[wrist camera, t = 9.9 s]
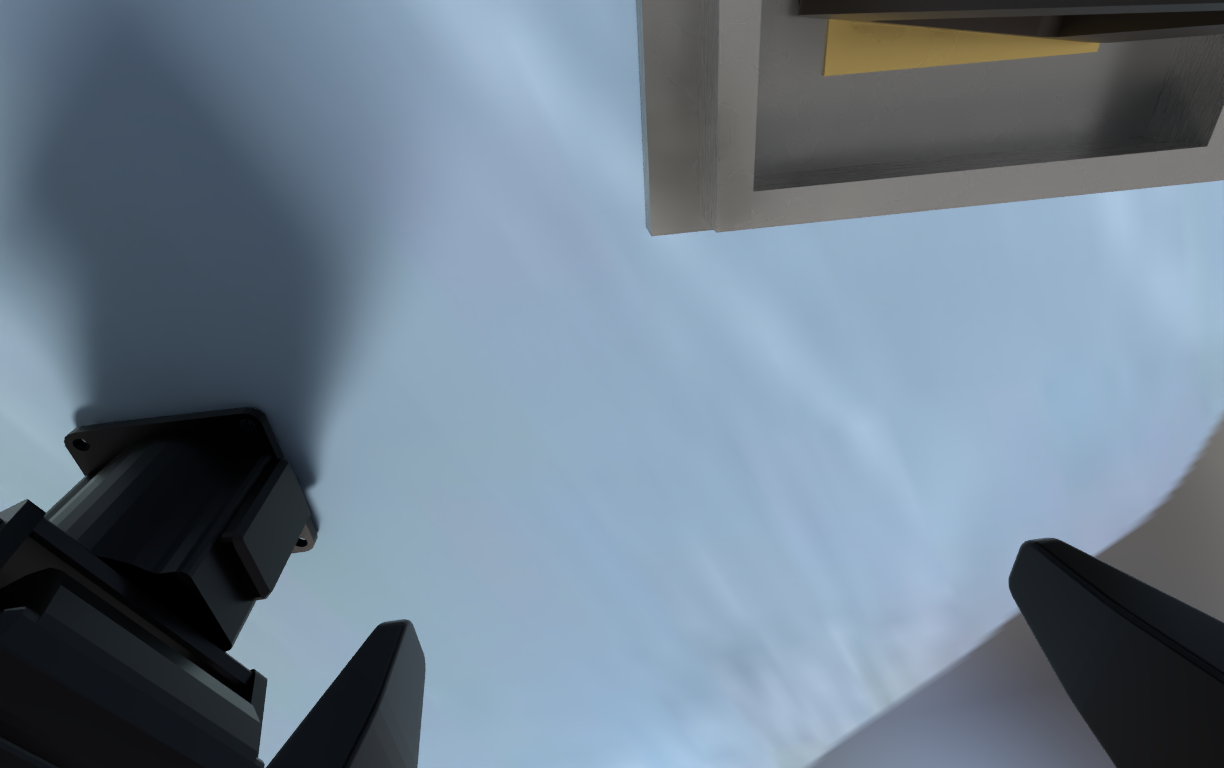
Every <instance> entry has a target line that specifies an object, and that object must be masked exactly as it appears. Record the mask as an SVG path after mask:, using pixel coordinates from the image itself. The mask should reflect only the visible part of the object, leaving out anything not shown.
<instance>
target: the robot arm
mask: <svg viewBox="0 0 1224 768" xmlns="http://www.w3.org/2000/svg"><path fill="white" fill-rule="evenodd" d="M244 419H246V420H250V421H252V422H253V423H254V424H255V425H249V424H248V423H246V421H245V420H244ZM82 439H83V440H85V441H87V442H88V443H89V444H87V443H85V442H84V441H83V440H82ZM64 443H65V446H66V448H67V449H68V451H69V452H70V454H71V455H72V457H73V458H74V460H75V461H76V463H77V464H78V466H79V467H80V469H81V470H82V472H83V474H84V475H85V477H84V478H83V479H82V480H81V481H80V482H79V483H78V484H77V485H75V486H74V487H73V488H72V489H71V490H70V491H69V492H68V493H67V494H66V495H65V496H64V497H63V498H62V499H60V500H59V501H58V502H57V503H56V504H55V505H54V506H53V507H52V508H51V509H50V510H49V511H48V512H47V513H46V512H44V511H43V510H42V509H40V508H39V507H38V506H36V505H35V504H34V503H32V502H31V501H30V500H28V499H26V500H24V501H22V502H20V503H18V504H16V505H14V506H12V507H10V508H8V509H6V510H4V511H2V512H0V768H264V762H263V761H262V760H260V759H259V758H258V754H259V745H260V737H261V728H262V720H263V712H264V703H265V695H266V687H267V678H265V677H264V676H263V675H261V674H260V673H259V672H257V671H256V670H255V669H252V670H249V669H247V668H246V667H245V666H243V665H242V664H241V663H239V662H238V661H237V660H235V659H234V658H233V657H231V656H230V655H229V654H227V653H226V651H229V650H230V649H231V648H232V647H233V645H234V643H235V641H236V639H237V637H238V635H239V633H240V631H241V629H242V627H243V625H244V623H245V622H246V620H247V618H248V616H249V614H250V612H251V610H252V608H253V606H254V604H255V602H256V600H261V599H266V598H267V597H268V596H269V595H270V593H271V592H272V591H273V589H274V587H275V585H276V583H277V581H278V579H279V577H280V575H281V573H282V571H283V569H284V567H285V565H286V563H287V561H288V559H289V557H290V555H291V553H298V552H305V551H309V550H310V549H312V548H313V546H314V544H315V542H316V540H317V532H316V530H315V528H314V525H313V523H312V521H311V518H310V514H311V511H310V508H309V506H308V504H307V501H306V499H305V497H304V494H303V492H302V490H301V488H300V485H299V483H298V481H297V478H296V476H295V474H294V471H293V469H292V467H291V464H290V463H289V462H288V461H287V460H286V459H285V458H284V456H283V454H282V452H281V449H280V447H279V445H278V443H277V440H276V438H275V436H274V433H273V431H272V429H271V426H270V424H269V422H268V419H267V417H266V416H265V415H264V413H263V412H261V411H260V410H258V409H255V408H251V407H245V408H236V409H228V410H219V411H210V412H201V413H193V414H184V415H175V416H166V417H158V418H149V419H140V420H131V421H123V422H114V423H105V424H96V425H88V426H81V427H77V428H75V429H74V430H73V431H72V432H70V433H69V434H68V435H67V436H66V437H65V440H64ZM300 538H304V539H306V540H302V539H300ZM1009 589H1010V592H1011V594H1012V597H1013V598H1014V600H1015V602H1016V604H1017V606H1018V607H1019V609H1020V611H1021V613H1022V615H1023V616H1024V618H1025V620H1026V622H1027V624H1028V625H1029V627H1030V629H1031V631H1032V632H1033V635H1034V636H1035V638H1036V640H1037V641H1038V643H1039V645H1040V647H1041V649H1042V651H1043V652H1044V654H1045V656H1046V658H1047V660H1048V662H1049V663H1050V665H1051V667H1052V669H1053V671H1054V672H1055V674H1056V676H1057V678H1058V679H1059V681H1060V683H1061V685H1062V686H1063V688H1064V690H1065V691H1066V693H1067V695H1068V696H1069V698H1070V699H1071V701H1072V703H1073V704H1074V706H1075V707H1076V709H1077V710H1078V712H1079V713H1080V715H1081V716H1082V718H1083V719H1084V721H1085V722H1086V724H1087V725H1088V727H1089V728H1090V730H1091V731H1092V733H1093V734H1094V735H1095V737H1096V738H1097V740H1098V741H1099V743H1100V744H1101V746H1102V747H1103V749H1104V750H1105V751H1106V753H1107V754H1108V756H1109V757H1110V759H1111V761H1112V762H1113V764H1114V765H1115V767H1116V768H1224V623H1223V622H1221V621H1219V620H1217V619H1215V618H1214V617H1211V616H1210V615H1208V614H1206V613H1204V612H1202V611H1200V610H1198V609H1196V608H1194V607H1192V606H1190V605H1188V604H1186V603H1184V602H1182V601H1180V600H1178V599H1176V598H1174V597H1172V596H1170V595H1168V594H1166V593H1164V592H1162V591H1160V590H1158V589H1156V588H1154V587H1152V586H1150V585H1148V584H1146V583H1144V582H1142V581H1140V580H1138V579H1136V578H1134V577H1132V576H1130V575H1128V574H1126V573H1124V572H1122V571H1120V570H1118V569H1116V568H1114V567H1113V566H1111V565H1108V564H1107V563H1104V562H1102V561H1101V560H1099V559H1097V558H1095V557H1093V556H1091V555H1089V554H1087V553H1085V552H1083V551H1081V550H1079V549H1077V548H1075V547H1073V546H1071V545H1069V544H1067V543H1065V542H1063V541H1061V540H1058V539H1055V538H1042V539H1034V540H1028V541H1025V542H1024V543H1023V544H1022V545H1021V547H1020V549H1019V552H1018V554H1017V557H1016V560H1015V562H1014V565H1013V568H1012V570H1011V573H1010V576H1009ZM424 682H425V657H424V653H423V651H422V648H421V645H420V642H419V640H418V637H417V634H416V632H415V629H414V626H413V624H412V622H411V621H409V620H406V619H404V620H396V621H388V622H383V623H381V624H379V625H378V626H377V627H376V628H375V629H374V631H373V632H372V633H371V634H370V636H369V637H368V638H367V640H366V641H365V642H364V643H363V645H362V646H361V647H360V648H359V650H358V651H357V652H356V654H355V655H354V656H353V657H352V659H351V660H350V661H349V662H348V664H347V665H346V666H345V668H344V669H343V670H342V671H341V673H340V674H339V675H338V677H337V678H336V679H335V680H334V682H333V683H332V684H331V685H330V687H329V688H328V689H327V691H326V692H325V693H324V694H323V696H322V697H321V698H320V699H319V701H318V702H317V703H316V705H315V706H314V707H313V708H312V710H311V711H310V712H309V714H308V715H307V716H306V717H305V719H304V720H303V721H302V722H301V724H300V725H299V726H298V728H297V729H296V730H295V731H294V733H293V734H292V735H291V736H290V738H289V739H288V740H287V742H286V743H285V744H284V745H283V747H282V748H281V749H280V751H279V752H278V753H277V754H276V756H275V757H274V758H273V759H272V761H271V762H270V763H269V765H268V766H267V767H266V768H417V765H418V753H419V741H420V729H421V718H422V706H423V694H424Z"/></svg>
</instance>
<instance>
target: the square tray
mask: <svg viewBox="0 0 1224 768" xmlns="http://www.w3.org/2000/svg"><path fill="white" fill-rule="evenodd" d="M800 1H801V0H636V8H637V30H638V52H639V75H640V97H641V120H642V142H643V164H644V187H645V209H646V228H647V230H648V231H649V233H650V235H651V236H658V235H668V234H677V233H687V232H697V231H706V230H714V231H715V232H725V231H735V230H745V229H754V228H764V227H774V226H783V225H793V224H803V223H812V222H822V221H832V220H841V219H851V218H861V217H871V216H880V215H890V214H900V213H909V212H919V211H929V210H938V209H948V208H958V207H967V206H977V205H987V204H997V203H1006V202H1016V201H1026V200H1035V199H1045V198H1055V197H1064V196H1074V195H1084V194H1093V193H1103V192H1113V191H1123V190H1132V189H1142V188H1152V187H1161V186H1171V185H1181V184H1190V183H1200V182H1210V181H1219V180H1224V34H1218V35H1205V36H1192V37H1179V38H1166V39H1153V40H1140V41H1127V42H1114V43H1091V42H1078V41H1067V40H1056V39H1045V38H1034V37H1023V36H1011V35H1000V34H989V33H978V32H967V31H956V30H950V29H933V28H922V27H911V26H900V25H889V24H878V23H867V22H856V21H844V20H833V19H822V18H811V17H801V16H798V12H799V7H800Z"/></svg>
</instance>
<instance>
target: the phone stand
mask: <svg viewBox="0 0 1224 768" xmlns="http://www.w3.org/2000/svg"><path fill="white" fill-rule="evenodd" d="M798 16H801V17H811V18H822V19H833V20H844V21H856V22H867V23H878V24H889V25H900V26H911V27H922V28H933V29H950V30H956V31H967V32H978V33H989V34H1000V35H1011V36H1023V37H1034V38H1045V39H1056V40H1067V41H1078V42H1091V43H1114V42H1127V41H1140V40H1153V39H1166V38H1179V37H1192V36H1205V35H1218V34H1224V0H801V1H800V7H799V12H798Z"/></svg>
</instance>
